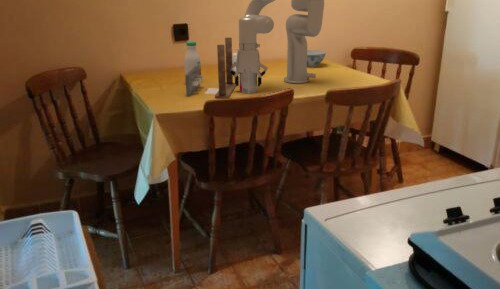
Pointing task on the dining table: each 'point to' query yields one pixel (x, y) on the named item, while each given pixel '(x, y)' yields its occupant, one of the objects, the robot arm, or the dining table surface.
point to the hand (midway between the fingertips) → (248, 85)
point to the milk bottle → (191, 58)
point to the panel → (192, 80)
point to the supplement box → (248, 81)
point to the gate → (224, 82)
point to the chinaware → (314, 57)
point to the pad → (212, 91)
